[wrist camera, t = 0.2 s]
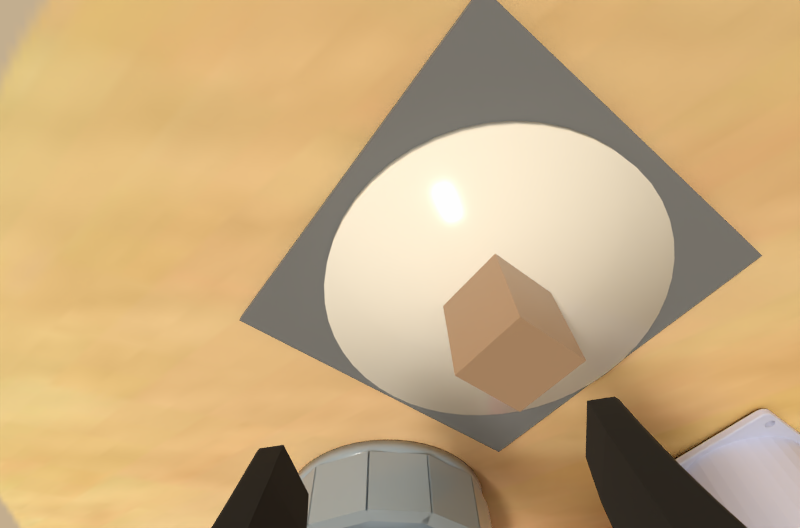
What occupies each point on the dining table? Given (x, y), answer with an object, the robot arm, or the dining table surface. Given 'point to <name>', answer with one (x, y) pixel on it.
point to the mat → (467, 106)
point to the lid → (498, 268)
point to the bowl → (392, 488)
